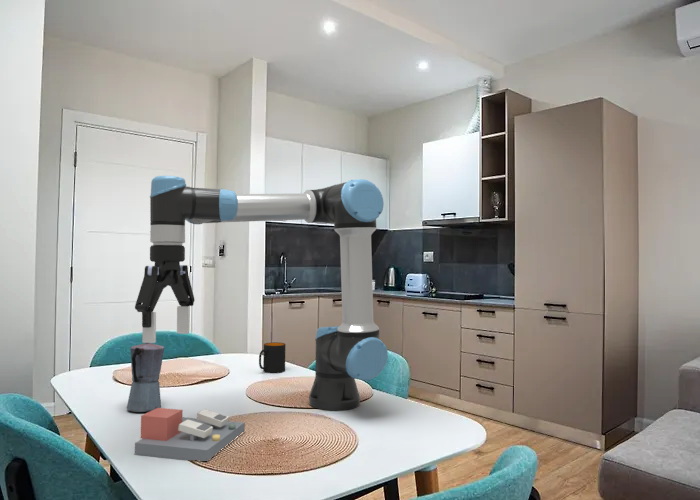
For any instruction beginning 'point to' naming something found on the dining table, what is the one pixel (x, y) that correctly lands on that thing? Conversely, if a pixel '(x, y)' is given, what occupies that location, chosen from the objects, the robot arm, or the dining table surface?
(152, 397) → the moka pot
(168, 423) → the cap
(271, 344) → the mug
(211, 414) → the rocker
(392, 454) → the dining table surface
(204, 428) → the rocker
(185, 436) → the panel
